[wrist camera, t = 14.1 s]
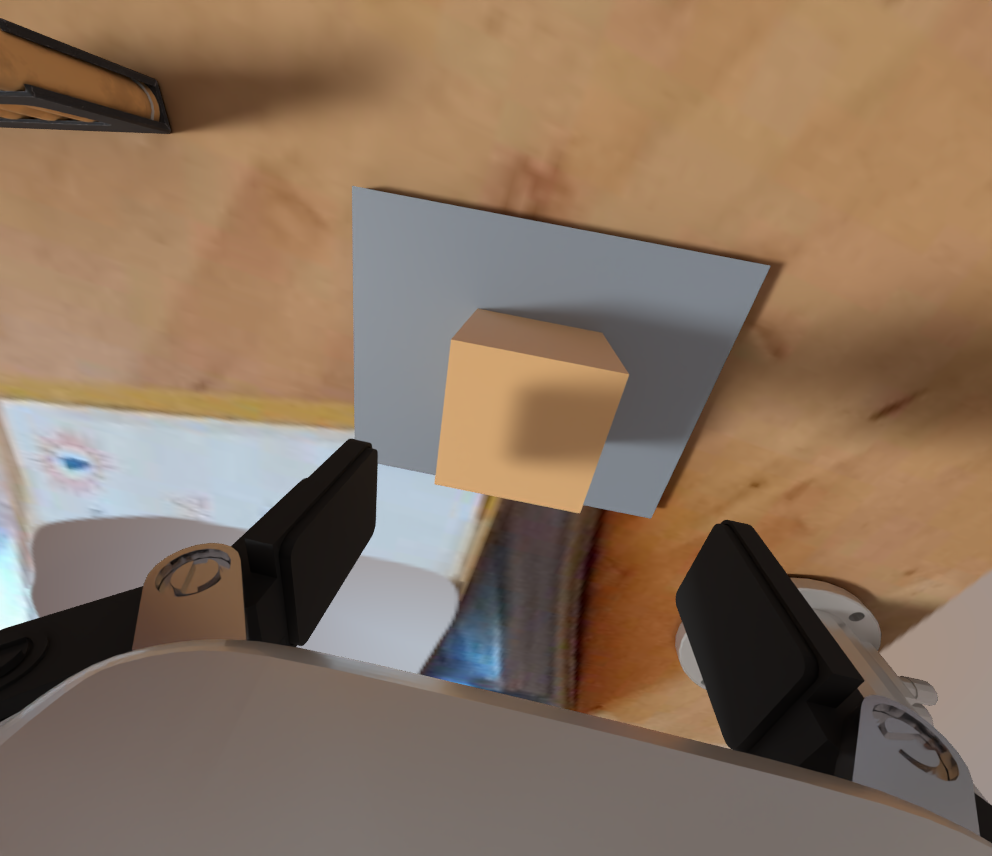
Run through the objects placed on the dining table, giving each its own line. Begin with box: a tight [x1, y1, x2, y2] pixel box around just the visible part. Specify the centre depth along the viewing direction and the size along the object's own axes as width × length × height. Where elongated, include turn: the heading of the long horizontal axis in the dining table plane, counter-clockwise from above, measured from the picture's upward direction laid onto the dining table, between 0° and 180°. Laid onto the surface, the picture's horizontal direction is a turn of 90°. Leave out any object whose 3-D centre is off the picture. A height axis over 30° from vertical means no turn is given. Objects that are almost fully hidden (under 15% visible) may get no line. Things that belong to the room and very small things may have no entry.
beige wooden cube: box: [435, 308, 629, 513], centre depth 16 cm, size 6×6×6 cm
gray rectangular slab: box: [352, 186, 770, 518], centre depth 18 cm, size 18×14×4 cm
